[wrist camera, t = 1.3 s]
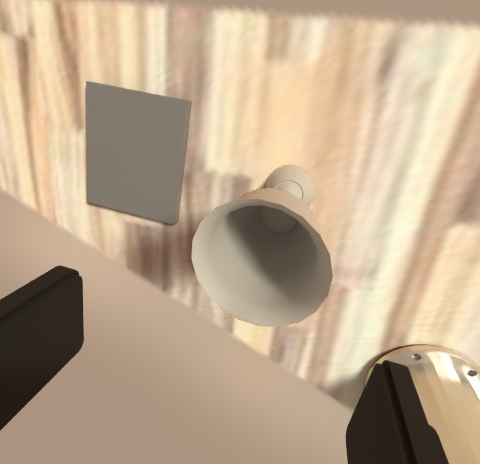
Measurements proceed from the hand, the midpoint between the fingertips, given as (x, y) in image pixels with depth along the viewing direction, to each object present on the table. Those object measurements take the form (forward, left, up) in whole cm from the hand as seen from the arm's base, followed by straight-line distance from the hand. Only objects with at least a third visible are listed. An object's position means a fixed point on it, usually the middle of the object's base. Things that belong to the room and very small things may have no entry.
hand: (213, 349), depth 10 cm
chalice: (0, 0, -25) cm, 25 cm away
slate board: (+17, 0, -25) cm, 30 cm away
